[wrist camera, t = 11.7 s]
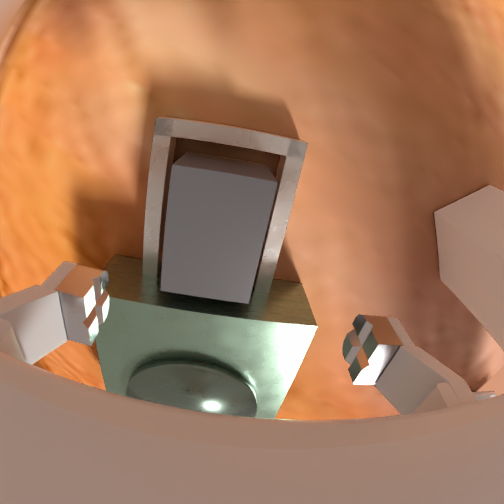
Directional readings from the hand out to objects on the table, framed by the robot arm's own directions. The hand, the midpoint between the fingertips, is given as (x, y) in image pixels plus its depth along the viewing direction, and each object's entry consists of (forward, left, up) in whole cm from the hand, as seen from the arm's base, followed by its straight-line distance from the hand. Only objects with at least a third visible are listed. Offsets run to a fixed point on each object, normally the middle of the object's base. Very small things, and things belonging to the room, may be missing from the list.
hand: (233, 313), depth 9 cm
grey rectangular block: (+1, +1, -11) cm, 11 cm away
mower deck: (+1, +8, -11) cm, 14 cm away
